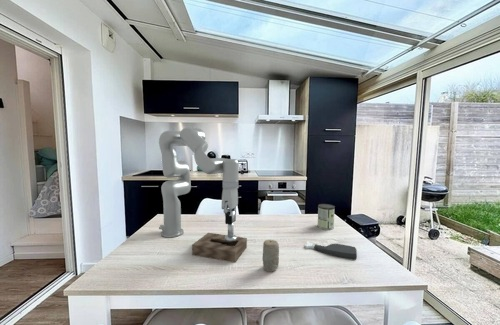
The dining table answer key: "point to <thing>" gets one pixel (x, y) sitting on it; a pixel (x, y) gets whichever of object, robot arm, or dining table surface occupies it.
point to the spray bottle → (335, 250)
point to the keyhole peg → (231, 229)
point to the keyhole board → (219, 247)
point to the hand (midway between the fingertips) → (230, 222)
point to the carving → (270, 255)
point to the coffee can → (326, 216)
